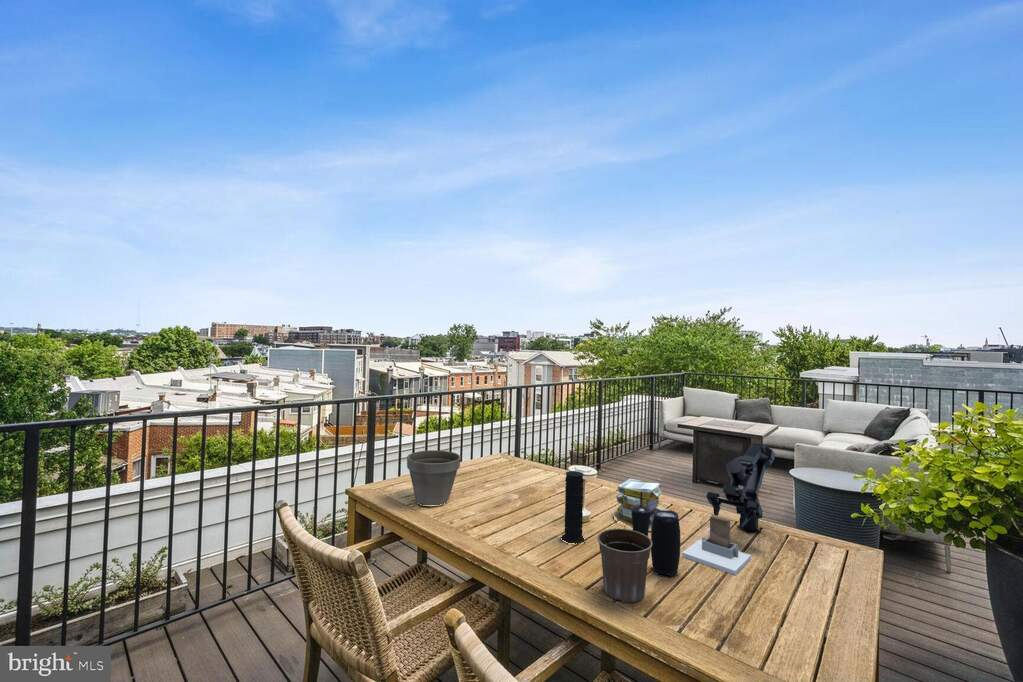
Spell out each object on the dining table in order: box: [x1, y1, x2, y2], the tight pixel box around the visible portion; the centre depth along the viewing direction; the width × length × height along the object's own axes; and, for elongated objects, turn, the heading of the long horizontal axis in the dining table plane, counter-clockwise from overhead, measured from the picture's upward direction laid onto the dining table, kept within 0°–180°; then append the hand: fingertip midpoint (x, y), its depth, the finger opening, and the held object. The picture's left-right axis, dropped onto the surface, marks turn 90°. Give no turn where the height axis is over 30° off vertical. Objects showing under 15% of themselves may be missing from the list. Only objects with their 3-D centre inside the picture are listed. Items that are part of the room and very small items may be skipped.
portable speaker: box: [650, 509, 681, 578], centre depth 152 cm, size 9×9×20 cm
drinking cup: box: [631, 492, 652, 537], centre depth 172 cm, size 8×8×20 cm
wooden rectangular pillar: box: [709, 514, 731, 549], centre depth 164 cm, size 4×6×12 cm, turn 46°
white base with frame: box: [681, 535, 752, 576], centre depth 162 cm, size 16×18×4 cm
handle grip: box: [560, 470, 585, 544], centre depth 175 cm, size 10×26×10 cm
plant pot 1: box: [406, 449, 462, 505], centre depth 213 cm, size 25×25×22 cm
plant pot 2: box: [596, 528, 652, 603], centre depth 138 cm, size 16×16×16 cm
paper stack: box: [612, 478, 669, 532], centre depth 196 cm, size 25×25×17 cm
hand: (727, 523), depth 170 cm, fingers open, 9 cm apart
